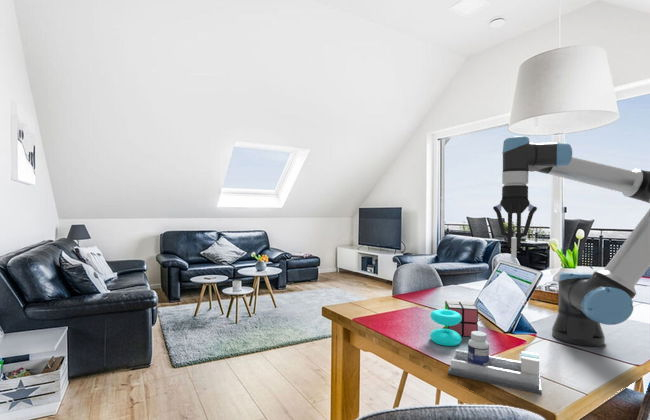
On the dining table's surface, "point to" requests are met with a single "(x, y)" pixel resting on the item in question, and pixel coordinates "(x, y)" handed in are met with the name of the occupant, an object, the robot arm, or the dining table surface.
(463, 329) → the puzzle cube
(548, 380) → the dining table surface
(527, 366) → the block
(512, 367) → the rail plate
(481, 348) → the pill bottle
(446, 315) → the donuts
